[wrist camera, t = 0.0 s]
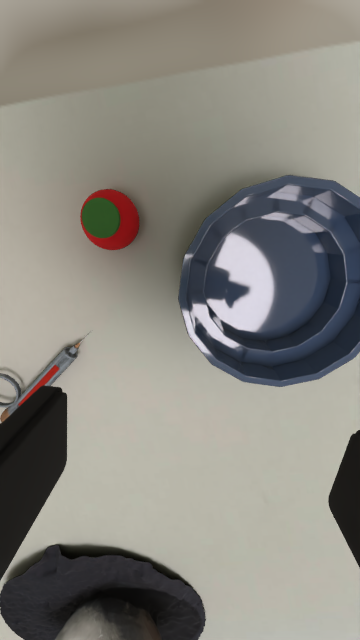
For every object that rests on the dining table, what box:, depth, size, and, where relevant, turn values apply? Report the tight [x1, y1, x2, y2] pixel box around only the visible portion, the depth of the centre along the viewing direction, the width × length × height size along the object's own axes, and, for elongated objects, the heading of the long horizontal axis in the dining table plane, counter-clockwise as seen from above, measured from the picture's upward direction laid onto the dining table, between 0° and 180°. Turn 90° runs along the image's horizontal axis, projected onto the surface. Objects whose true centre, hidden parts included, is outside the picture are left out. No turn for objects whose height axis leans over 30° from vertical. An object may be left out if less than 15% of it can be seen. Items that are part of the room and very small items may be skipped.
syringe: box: [0, 330, 92, 422], centre depth 25 cm, size 8×18×2 cm, turn 135°
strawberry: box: [80, 189, 139, 250], centre depth 19 cm, size 4×4×4 cm
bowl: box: [178, 175, 360, 387], centre depth 19 cm, size 13×13×5 cm
